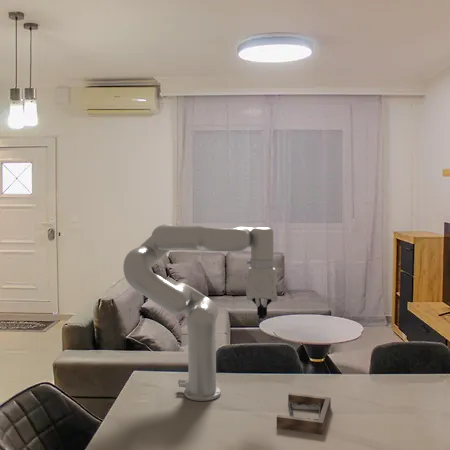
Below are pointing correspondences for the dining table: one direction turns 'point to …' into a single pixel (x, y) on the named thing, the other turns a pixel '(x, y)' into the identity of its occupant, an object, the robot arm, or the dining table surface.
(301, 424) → the frame
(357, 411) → the dining table surface
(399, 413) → the dining table surface
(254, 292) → the robot arm
